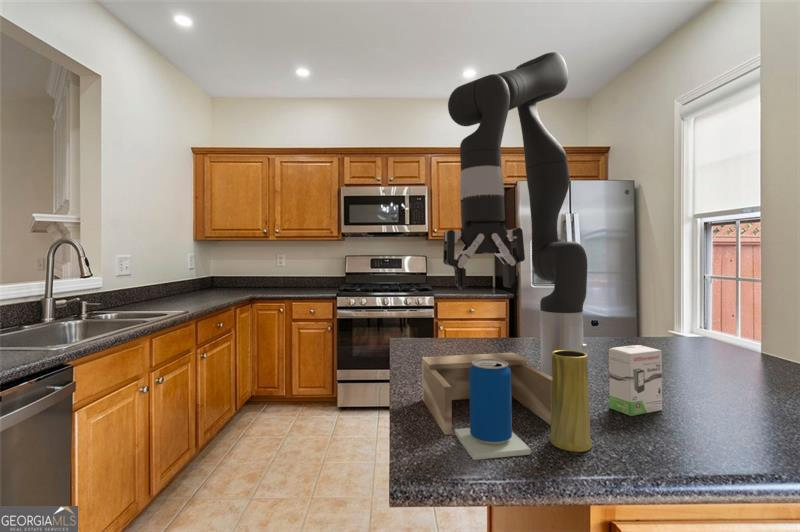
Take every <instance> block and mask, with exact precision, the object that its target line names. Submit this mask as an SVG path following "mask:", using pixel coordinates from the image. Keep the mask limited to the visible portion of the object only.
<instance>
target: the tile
mask: <svg viewBox="0 0 800 532" xmlns="http://www.w3.org/2000/svg"><path fill="white" fill-rule="evenodd" d="M454 434H455V437H457V439H458V440H459V442H460V443H461V445H462V446H463V448H464V450H465V451H466V452H467V453H468V456H470V458H472V460H473V461H477V460H487V459H496V458H498V459H499V458H506V457H517V456H519V457H520V456H528V455H531V454H532V448H530V447H529V446H528V445H527V444H526V443H525V442H524V441H523V440H522V439H521V438H520V437H519V436H518V435H516V433H514V431H512V437H511V438H510V439H509V440H507V441H506V442H505V443H504V444H501V445H487V444H483V443H480V442H479V441H477V440H476V439H475V438H474V437H473V436H472V435H471V433H470V427H464V428H454Z"/></svg>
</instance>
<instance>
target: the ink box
mask: <svg viewBox="0 0 800 532" xmlns="http://www.w3.org/2000/svg"><path fill="white" fill-rule="evenodd" d="M662 353H663V352H662V350H661V349H657V348H653V347H650V346H646V345H641V344H636V345H635V344H634V345H625V346H616V347H611V348H609V349H608V373H609V374H608V377H609V379H608V383H609V390H608V391H609V393H608V395H609V397H608V398H609V409H611V410H614V411H617V412H619V413H622V414H625V415H627V416H629V417H633V416H638V415H644V414H648V413H653V412H654V413H655V412H659V411H662V410H663V364H662V363H663V362H662V361H663V354H662Z"/></svg>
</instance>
